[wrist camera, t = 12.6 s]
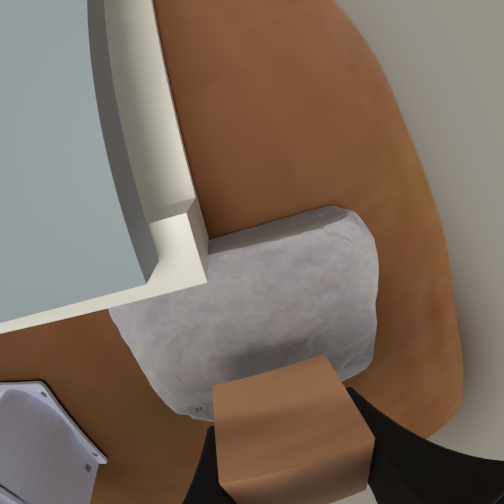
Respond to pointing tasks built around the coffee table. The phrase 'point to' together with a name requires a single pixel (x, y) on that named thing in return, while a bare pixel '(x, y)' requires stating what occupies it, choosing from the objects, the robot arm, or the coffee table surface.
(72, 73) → the slide cover
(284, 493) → the block
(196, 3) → the coffee table surface
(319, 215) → the stone block
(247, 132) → the coffee table surface
